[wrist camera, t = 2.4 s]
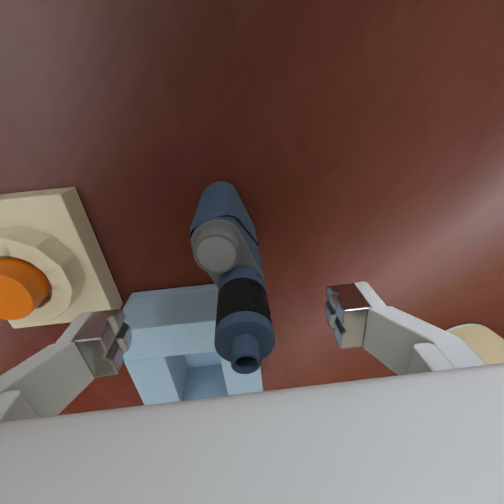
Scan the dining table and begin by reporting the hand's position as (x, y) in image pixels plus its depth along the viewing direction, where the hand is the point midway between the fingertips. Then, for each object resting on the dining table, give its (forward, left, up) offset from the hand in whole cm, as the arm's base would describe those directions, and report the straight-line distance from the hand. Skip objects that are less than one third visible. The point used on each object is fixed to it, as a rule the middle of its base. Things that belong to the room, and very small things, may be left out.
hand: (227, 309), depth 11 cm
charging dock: (+12, -4, -10) cm, 16 cm away
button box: (+2, -14, -10) cm, 17 cm away
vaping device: (0, 0, -10) cm, 10 cm away
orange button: (+2, -14, -7) cm, 16 cm away
